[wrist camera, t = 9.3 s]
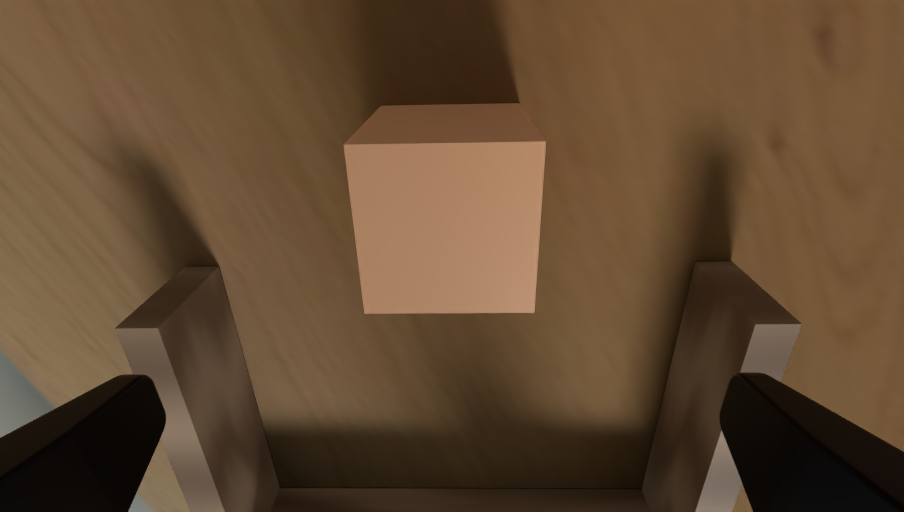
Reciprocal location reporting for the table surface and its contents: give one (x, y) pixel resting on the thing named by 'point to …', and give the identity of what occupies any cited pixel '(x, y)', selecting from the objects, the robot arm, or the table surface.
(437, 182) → the terracotta block
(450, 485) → the table surface
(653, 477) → the walnut pen
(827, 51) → the table surface
